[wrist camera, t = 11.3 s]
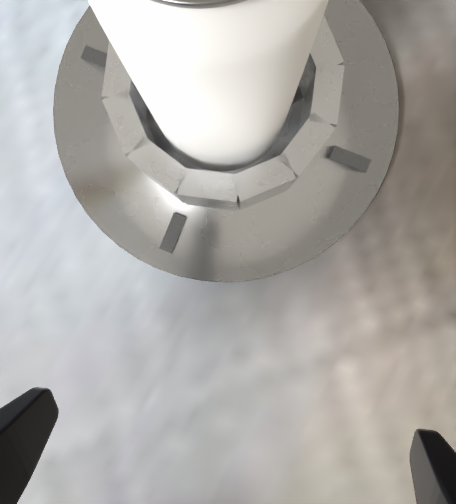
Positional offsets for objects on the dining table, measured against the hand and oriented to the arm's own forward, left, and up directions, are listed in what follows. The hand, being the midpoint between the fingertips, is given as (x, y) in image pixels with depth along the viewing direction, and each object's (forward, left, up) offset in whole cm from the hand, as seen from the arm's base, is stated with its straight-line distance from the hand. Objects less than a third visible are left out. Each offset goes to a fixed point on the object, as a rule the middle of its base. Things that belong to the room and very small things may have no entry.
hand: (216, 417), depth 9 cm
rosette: (+4, +11, -11) cm, 16 cm away
